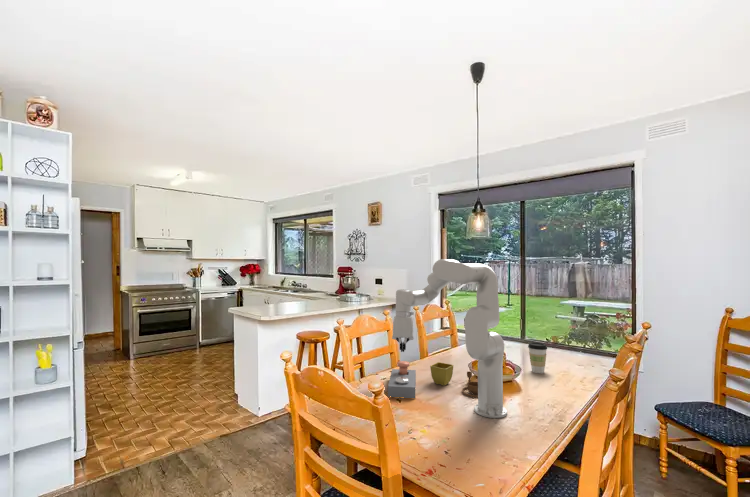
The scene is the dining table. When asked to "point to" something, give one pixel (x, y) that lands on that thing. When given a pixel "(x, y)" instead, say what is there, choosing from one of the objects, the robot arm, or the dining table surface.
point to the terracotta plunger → (403, 367)
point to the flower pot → (441, 373)
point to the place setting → (471, 387)
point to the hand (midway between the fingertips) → (402, 351)
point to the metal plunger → (402, 380)
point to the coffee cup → (537, 356)
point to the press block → (402, 389)
